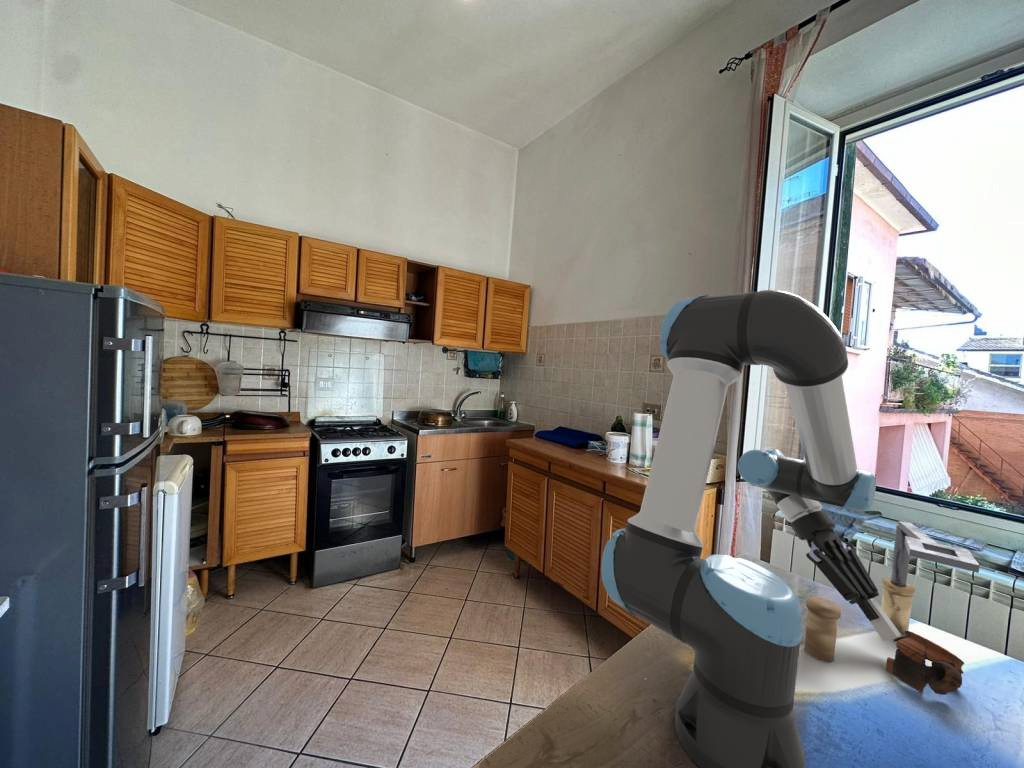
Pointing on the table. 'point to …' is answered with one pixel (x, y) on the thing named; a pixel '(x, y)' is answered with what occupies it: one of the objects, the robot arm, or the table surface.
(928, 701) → the table surface
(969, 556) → the aperture bracket
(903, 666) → the broken brown pot
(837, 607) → the oak collar post
